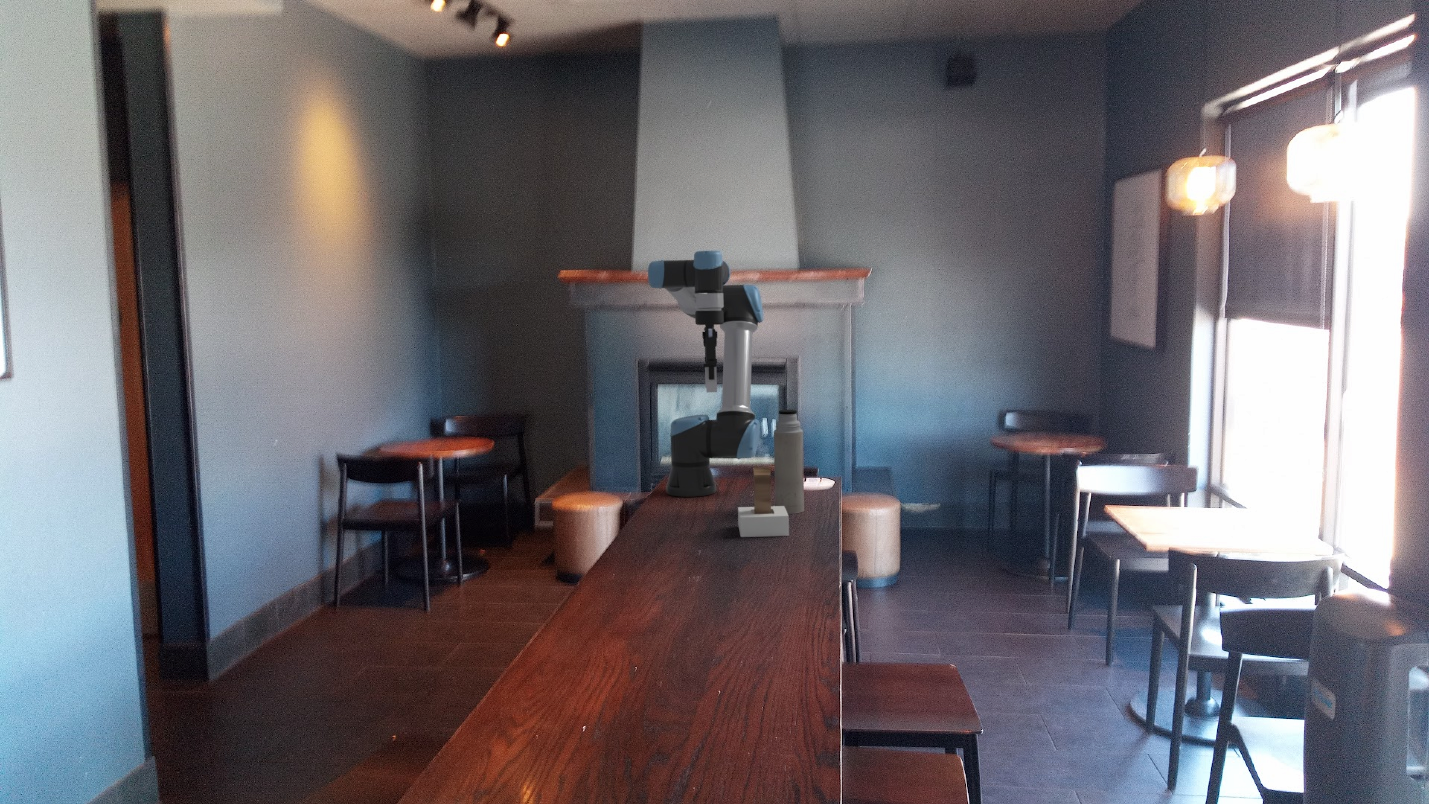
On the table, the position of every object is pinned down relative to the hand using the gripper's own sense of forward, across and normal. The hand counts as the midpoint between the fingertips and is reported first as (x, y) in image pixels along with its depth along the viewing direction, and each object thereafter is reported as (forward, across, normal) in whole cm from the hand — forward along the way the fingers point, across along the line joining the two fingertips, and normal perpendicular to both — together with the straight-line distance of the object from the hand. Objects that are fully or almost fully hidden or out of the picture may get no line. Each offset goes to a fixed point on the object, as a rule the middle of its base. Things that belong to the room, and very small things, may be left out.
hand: (711, 389), depth 282 cm
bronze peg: (+35, +17, +12) cm, 40 cm away
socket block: (+35, +17, +12) cm, 40 cm away
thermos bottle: (+35, -6, +21) cm, 41 cm away
